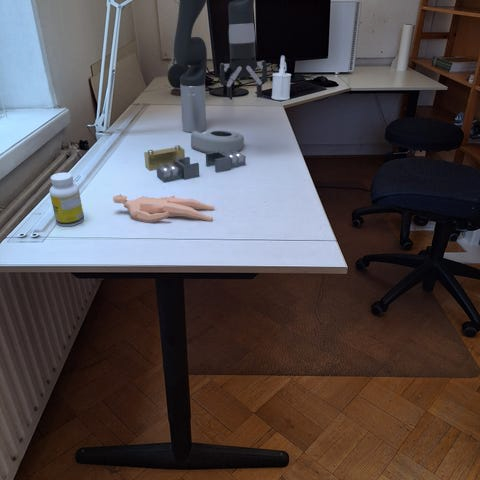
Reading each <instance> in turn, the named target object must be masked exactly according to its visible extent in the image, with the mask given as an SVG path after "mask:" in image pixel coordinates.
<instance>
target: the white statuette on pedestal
mask: <svg viewBox="0 0 480 480" xmlns="http://www.w3.org/2000/svg"><path fill="white" fill-rule="evenodd" d="M291 76H292V74H291V73H288V72H287V62H286V57H285V55H281V56H280V64H279V69H278V72H274V73H272V90H271V99H273V100H276V101H286V100H290V98H291V97H290V91H291V78H292V77H291Z"/></svg>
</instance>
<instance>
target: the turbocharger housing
mask: <svg viewBox="0 0 480 480" xmlns="http://www.w3.org/2000/svg"><path fill="white" fill-rule="evenodd" d="M244 141H245V138H244V136H243V134H242V133H239V132H236V131H231V130H230V131H229V130H223V129H214V130H213V129H212V130H209V131H207V132H205V133H202V132H198V131H193V132H191V134H190V147H191V149H192V150H196V151H200V152H202V153H204V154H206V153H211V152H216V151H221V152H222V153H225V152H231V151H232V150H235V151H237V152H240V151H242V149H244V143H245V142H244Z"/></svg>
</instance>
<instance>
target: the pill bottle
mask: <svg viewBox="0 0 480 480" xmlns="http://www.w3.org/2000/svg"><path fill="white" fill-rule="evenodd" d="M50 183H51V185H52V186H51V187H50V189H49V196H50V200H51V204H52V205H51V206H52V210H53V213H54V218H55V222H56V224H58V226H62V227H72V226H73V227H74V226H76V225H78V224H81V223H82V222H83V221H84V218H85V215H84V210H83V205H82V200H81V199H82V198H81V194H80V188H79V186H78V184H76V183H75V182H74V178H73V174H72V173H70V172H58V173H54V174H53V175H50Z"/></svg>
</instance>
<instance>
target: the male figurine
mask: <svg viewBox="0 0 480 480" xmlns="http://www.w3.org/2000/svg"><path fill="white" fill-rule="evenodd" d="M127 198H128V196H126V195H122V194H119V195H114V196H113V197H112V201H113V202H114V204H122V205H123V207H124V208H125V209H126V210H128V212H129V216H130V217H131V218H132V219H133V220H135V221H138V222H142V223H148V224H149V223H150V224H151V223H155V222H160V221H163V220H165V219H167V218H168V217H169V218H174V217H180V216H181V217H188V218H192V219H196V220H203V221H207V222H213V216H210V215H207V214H204V213H202V212H200V211H198V210H208V211H215V205H209V204H207V203H204V202H200V201H198V200H196V199H193V198H180V197H179V198H178V197H175V196H174V195H172V196H166V197H164V196H163V197H158V198H157V197H148V196H145V195H144V196H141V197H138V198H136V199H132V200H131V199H130V200H128V199H127ZM196 209H197V210H196Z"/></svg>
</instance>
